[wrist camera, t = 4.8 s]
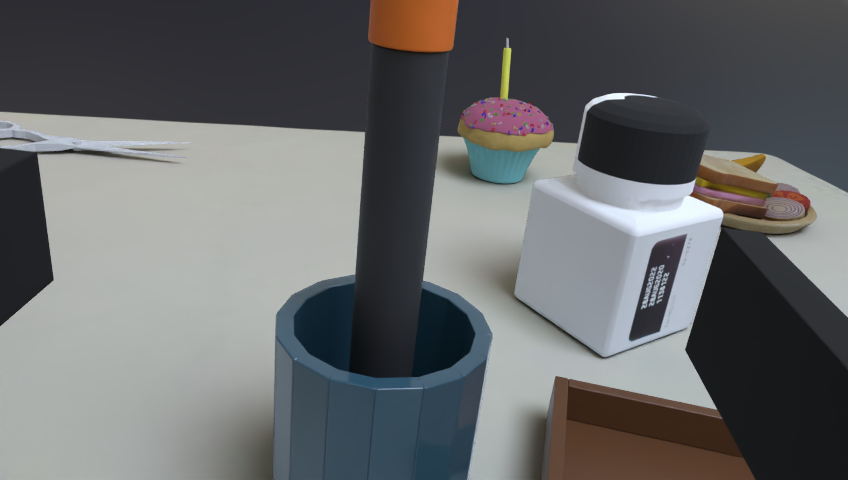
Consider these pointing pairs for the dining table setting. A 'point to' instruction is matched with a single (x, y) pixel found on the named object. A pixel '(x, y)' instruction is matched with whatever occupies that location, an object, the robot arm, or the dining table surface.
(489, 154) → the cupcake
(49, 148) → the scissors
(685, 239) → the container
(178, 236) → the dining table surface
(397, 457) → the pen cup
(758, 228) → the toy sandwich meal
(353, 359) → the marker
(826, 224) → the dining table surface
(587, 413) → the tray
